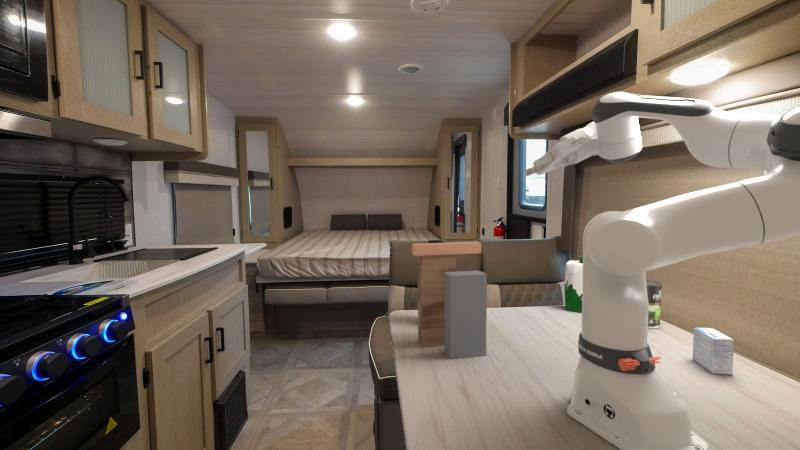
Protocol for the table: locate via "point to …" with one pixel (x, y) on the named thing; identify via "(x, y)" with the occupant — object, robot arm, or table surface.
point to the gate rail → (446, 248)
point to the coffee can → (654, 303)
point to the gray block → (465, 314)
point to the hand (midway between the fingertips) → (530, 169)
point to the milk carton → (574, 285)
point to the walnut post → (432, 297)
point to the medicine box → (713, 350)
